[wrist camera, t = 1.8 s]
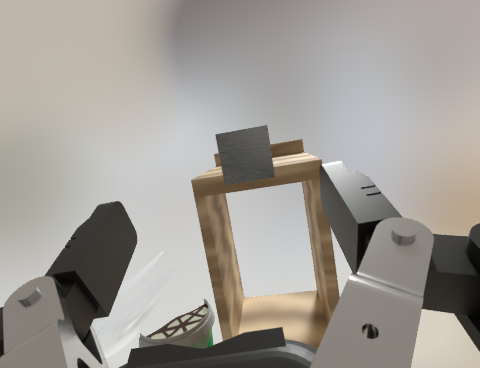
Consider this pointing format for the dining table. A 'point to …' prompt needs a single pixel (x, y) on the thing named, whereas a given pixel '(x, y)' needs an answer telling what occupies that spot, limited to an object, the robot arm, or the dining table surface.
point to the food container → (185, 330)
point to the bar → (245, 155)
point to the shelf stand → (226, 265)
